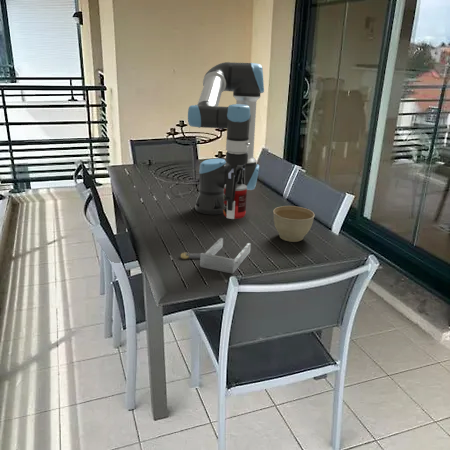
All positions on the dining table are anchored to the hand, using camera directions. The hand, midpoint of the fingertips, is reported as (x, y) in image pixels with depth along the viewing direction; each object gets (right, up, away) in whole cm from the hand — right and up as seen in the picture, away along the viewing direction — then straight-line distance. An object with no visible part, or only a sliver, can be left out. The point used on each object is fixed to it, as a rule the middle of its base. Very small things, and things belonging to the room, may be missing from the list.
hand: (234, 214), depth 162 cm
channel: (-3, -16, 0) cm, 16 cm away
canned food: (0, 0, 0) cm, 0 cm away
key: (-14, -15, 0) cm, 21 cm away
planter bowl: (+23, -9, +20) cm, 32 cm away
